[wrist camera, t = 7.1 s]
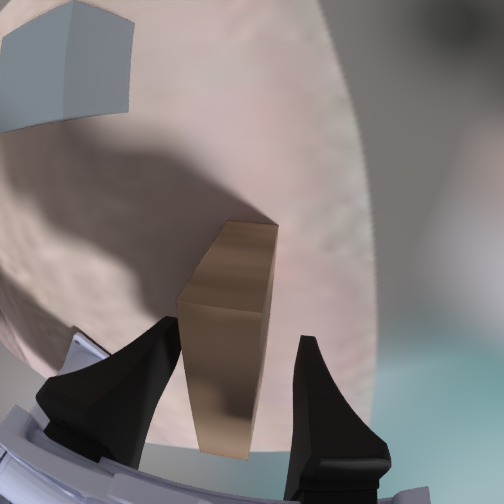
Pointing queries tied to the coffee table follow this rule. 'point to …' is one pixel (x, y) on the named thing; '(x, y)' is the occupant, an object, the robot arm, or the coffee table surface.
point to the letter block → (65, 67)
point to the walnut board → (228, 335)
